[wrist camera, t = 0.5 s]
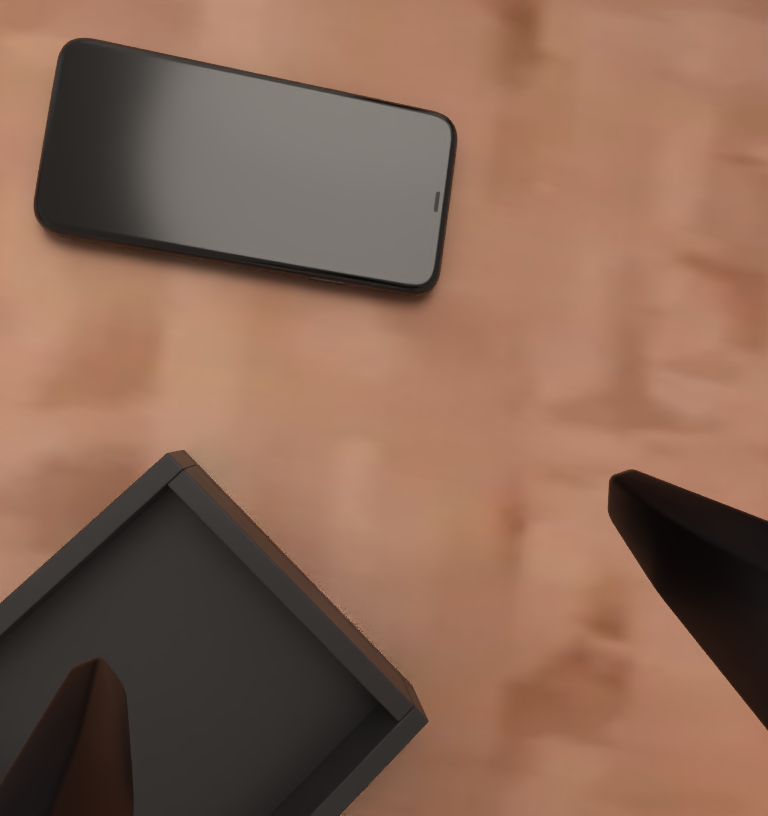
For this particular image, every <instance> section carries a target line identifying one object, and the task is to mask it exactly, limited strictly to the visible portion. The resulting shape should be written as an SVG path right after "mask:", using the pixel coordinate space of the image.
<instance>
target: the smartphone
mask: <svg viewBox="0 0 768 816" xmlns="http://www.w3.org/2000/svg"><path fill="white" fill-rule="evenodd" d="M456 149H457V132H456V129H455V126H454V124H453V123H452V121H451V120H450V119H449V118H448V117H446V116H445V115H443V114H441V113H438V112H435V111H431V110H427V109H422V108H417V107H412V106H408V105H403V104H398V103H394V102H389V101H384V100H380V99H376V98H371V97H366V96H362V95H356V94H351V93H347V92H343V91H338V90H333V89H328V88H323V87H318V86H314V85H309V84H304V83H300V82H295V81H290V80H286V79H281V78H276V77H271V76H267V75H262V74H257V73H253V72H248V71H243V70H239V69H234V68H229V67H224V66H220V65H215V64H210V63H206V62H201V61H196V60H191V59H187V58H182V57H177V56H173V55H168V54H163V53H159V52H154V51H149V50H144V49H140V48H135V47H130V46H126V45H121V44H116V43H112V42H107V41H102V40H97V39H91V38H77V39H74V40H71V41H69V42H68V43H67V44H65V45H64V47H63V48H62V50H61V51H60V54H59V56H58V60H57V66H56V71H55V77H54V82H53V88H52V94H51V100H50V106H49V112H48V117H47V123H46V129H45V135H44V141H43V147H42V153H41V159H40V165H39V171H38V177H37V183H36V190H35V196H34V213H35V216H36V218H37V220H38V222H39V223H40V224H41V226H42V227H44V228H45V229H46V230H47V231H49V232H51V233H53V234H56V235H59V236H62V237H67V238H72V239H78V240H84V241H90V242H96V243H102V244H108V245H114V246H120V247H125V248H131V249H137V250H143V251H149V252H155V253H161V254H167V255H173V256H179V257H185V258H191V259H196V260H202V261H208V262H214V263H220V264H226V265H232V266H238V267H244V268H250V269H256V270H262V271H267V272H273V273H279V274H285V275H291V276H297V277H303V278H308V279H310V280H316V281H322V282H328V283H334V284H340V285H346V286H347V285H350V286H356V287H362V288H368V289H374V290H380V291H386V292H392V293H398V294H404V295H422V294H425V293H427V292H429V291H430V290H431V289H432V288H433V287H434V286H435V285H436V283H437V281H438V278H439V275H440V270H441V263H442V256H443V249H444V241H445V234H446V226H447V219H448V211H449V203H450V196H451V188H452V180H453V173H454V165H455V157H456Z"/></svg>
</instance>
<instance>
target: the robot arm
mask: <svg viewBox="0 0 768 816" xmlns="http://www.w3.org/2000/svg"><path fill="white" fill-rule="evenodd" d="M608 513H609V516H610V518H611V521H612V522H613V524H614V526H615V527H616V529H617V530H618V532H619V533H620V535H621V536H622V538H623V540H624V541H625V543H626V544H627V546H628V547H629V549H630V551H631V552H632V554H633V555H634V557H635V558H636V560H637V561H638V563H639V565H640V566H641V568H642V569H643V571H644V572H645V574H646V576H647V577H648V579H649V580H650V582H651V583H652V585H653V586H654V588H655V589H656V591H657V592H658V593H659V595H660V596H661V597H662V598H663V600H664V601H665V602H666V604H667V605H668V606H669V607H670V609H671V610H672V611H673V612H674V614H675V615H676V616H677V617H678V619H679V620H680V621H681V622H682V624H683V625H684V626H685V627H686V629H687V630H688V631H689V632H690V634H691V635H692V636H693V637H694V639H695V640H696V641H697V642H698V644H699V645H700V646H701V647H702V649H703V650H704V651H705V652H706V654H707V655H708V656H709V657H710V659H711V660H712V661H713V662H714V664H715V665H716V666H717V667H718V669H719V670H720V671H721V672H722V674H723V675H724V676H725V677H726V679H727V680H728V681H729V682H730V684H731V685H732V686H733V687H734V689H735V690H736V691H737V692H738V694H739V695H740V696H741V697H742V699H743V700H744V701H745V702H746V704H747V705H748V706H749V707H750V709H751V710H752V711H753V712H754V714H755V715H756V716H757V717H758V719H759V720H760V721H761V722H762V724H763V725H764V726H765V727H766V729H767V730H768V521H767V520H764V519H761V518H759V517H756V516H754V515H751V514H748V513H746V512H743V511H741V510H738V509H735V508H733V507H730V506H728V505H725V504H722V503H720V502H717V501H715V500H712V499H709V498H707V497H704V496H702V495H699V494H697V493H694V492H691V491H689V490H686V489H684V488H681V487H678V486H676V485H673V484H671V483H668V482H665V481H663V480H660V479H658V478H655V477H652V476H650V475H647V474H645V473H642V472H639V471H637V470H632V469H631V470H626V471H623V472H621V473H618V474H615V475H613V476H612V477H611V478H610V480H609V494H608ZM133 813H134V790H133V773H132V760H131V747H130V733H129V720H128V707H127V696H126V692H125V689H124V686H123V684H122V683H121V681H120V680H119V679H118V677H117V676H116V674H115V673H114V672H113V670H112V669H111V667H110V666H109V665H108V663H107V662H106V661H105V660H104V659H103V658H101V657H95V658H93V659H90V660H87V661H84V662H81V663H78V664H76V665H75V666H73V668H72V669H71V670H70V671H69V673H68V674H67V676H66V677H65V679H64V681H63V682H62V684H61V686H60V687H59V689H58V690H57V692H56V694H55V695H54V697H53V698H52V700H51V702H50V703H49V705H48V707H47V708H46V710H45V711H44V713H43V715H42V716H41V718H40V719H39V721H38V723H37V724H36V726H35V728H34V729H33V731H32V732H31V734H30V736H29V737H28V739H27V741H26V742H25V744H24V745H23V747H22V749H21V750H20V752H19V753H18V755H17V757H16V758H15V760H14V762H13V763H12V765H11V766H10V768H9V770H8V771H7V773H6V774H5V776H4V778H3V779H2V781H1V783H0V816H133Z"/></svg>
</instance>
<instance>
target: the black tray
mask: <svg viewBox="0 0 768 816" xmlns="http://www.w3.org/2000/svg"><path fill="white" fill-rule="evenodd" d="M95 657H101V658H103V659H104V660H105V661H106V662H107V663H108V665H109V666H110V667H111V669H112V670H113V672H114V673H115V674H116V676H117V677H118V679H119V680H120V681H121V683H122V684H123V686H124V689H125V692H126V696H127V707H128V720H129V733H130V747H131V760H132V773H133V790H134V813H133V816H339V815H340V814H341V813H342V812H343V811H344V810H345V809H346V808H347V807H348V806H349V805H350V804H351V803H352V802H353V800H354V799H355V798H356V797H357V796H358V795H359V794H360V793H361V792H362V791H363V790H364V789H365V788H366V787H367V786H368V785H369V784H370V783H371V782H372V780H373V779H374V778H375V777H376V776H377V775H378V774H379V773H380V772H381V771H382V770H383V769H384V768H385V767H386V766H387V765H388V764H389V763H390V761H391V760H392V759H393V758H394V757H395V756H396V755H397V754H398V753H399V752H400V751H401V750H402V749H403V748H404V747H405V746H406V745H407V744H408V743H409V741H410V740H411V739H412V738H413V737H414V736H415V735H416V734H417V733H418V732H419V731H420V730H421V729H422V728H423V727H424V726H425V725H426V724H427V722H428V719H427V717H426V715H425V712H424V710H423V708H422V706H421V704H420V702H419V699H418V697H417V695H416V693H415V691H414V689H413V686H412V685H411V684H410V683H409V682H408V681H407V680H406V679H405V678H404V677H403V676H402V675H401V673H400V672H399V671H398V670H397V669H396V668H395V667H394V666H393V665H392V664H391V663H390V662H389V661H388V660H387V659H386V658H385V657H384V656H383V655H382V654H381V653H380V652H379V651H378V650H377V649H376V648H375V647H374V646H373V645H372V644H371V643H370V641H369V640H368V639H367V638H366V637H365V636H364V635H363V634H362V633H361V632H360V631H359V630H358V629H357V628H356V627H355V626H354V625H353V624H352V623H351V622H350V621H349V620H348V619H347V618H346V617H345V616H344V615H343V614H342V613H341V612H340V611H339V609H338V608H337V607H336V606H335V605H334V604H333V603H332V602H331V601H330V600H329V599H328V598H327V597H326V596H325V595H324V594H323V593H322V592H321V591H320V590H319V589H318V588H317V587H316V586H315V585H314V584H313V583H312V582H311V581H310V580H309V579H308V577H307V576H306V575H305V574H304V573H303V572H302V571H301V570H300V569H299V568H298V567H297V566H296V565H295V564H294V563H293V562H292V561H291V560H290V559H289V558H288V557H287V556H286V555H285V554H284V553H283V552H282V551H281V550H280V549H279V548H278V547H277V545H276V544H275V543H274V542H273V541H272V540H271V539H270V538H269V537H268V536H267V535H266V534H265V533H264V532H263V531H262V530H261V529H260V528H259V527H258V526H257V525H256V524H255V523H254V522H253V521H252V520H251V519H250V518H249V517H248V516H247V515H246V513H245V512H244V511H243V510H242V509H241V508H240V507H239V506H238V505H237V504H236V503H235V502H234V501H233V500H232V499H231V498H230V497H229V496H228V495H227V494H226V493H225V492H224V491H223V490H222V489H221V488H220V487H219V486H218V485H217V484H216V483H215V481H214V480H213V479H212V478H211V477H210V476H209V475H208V474H207V473H206V472H205V471H204V470H203V469H202V468H201V467H200V466H199V465H198V464H197V463H196V462H195V461H194V460H193V459H192V458H191V457H190V456H189V455H188V454H187V453H186V452H185V451H184V450H181V451H176V452H171V453H167V454H166V455H164V456H163V457H162V458H161V459H160V460H159V461H158V462H157V463H156V464H154V465H153V466H152V467H151V468H150V469H149V470H148V471H147V472H146V473H144V474H143V475H142V476H141V477H140V478H139V479H138V480H137V481H136V482H134V483H133V484H132V485H131V486H130V487H129V488H128V489H127V490H126V491H124V492H123V493H122V494H121V495H120V496H119V497H118V498H117V499H116V500H114V501H113V502H112V503H111V504H110V505H109V506H108V507H107V508H106V509H104V510H103V511H102V512H101V513H100V514H99V515H98V516H97V517H96V518H94V519H93V520H92V521H91V522H90V523H89V524H88V525H87V526H86V527H84V528H83V529H82V530H81V531H80V532H79V533H78V534H77V535H76V536H74V537H73V538H72V539H71V540H70V541H69V542H68V543H67V544H66V545H65V546H63V547H62V548H61V549H60V550H59V551H58V552H57V553H56V554H55V555H53V556H52V557H51V558H50V559H49V560H48V561H47V562H46V563H45V564H43V565H42V566H41V567H40V568H39V569H38V570H37V571H36V572H35V573H33V574H32V575H31V576H30V577H29V578H28V579H27V580H26V581H25V582H23V583H22V584H21V585H20V586H19V587H18V588H17V589H16V590H15V591H13V592H12V593H11V594H10V595H9V596H8V597H7V598H6V599H5V600H3V601H2V602H1V603H0V783H1V781H2V779H3V778H4V776H5V774H6V773H7V771H8V770H9V768H10V766H11V765H12V763H13V762H14V760H15V758H16V757H17V755H18V753H19V752H20V750H21V749H22V747H23V745H24V744H25V742H26V741H27V739H28V737H29V736H30V734H31V732H32V731H33V729H34V728H35V726H36V724H37V723H38V721H39V719H40V718H41V716H42V715H43V713H44V711H45V710H46V708H47V707H48V705H49V703H50V702H51V700H52V698H53V697H54V695H55V694H56V692H57V690H58V689H59V687H60V686H61V684H62V682H63V681H64V679H65V677H66V676H67V674H68V673H69V671H70V670H71V669H72V668H73V666H75V665H76V664H78V663H81V662H84V661H87V660H90V659H93V658H95Z"/></svg>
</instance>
